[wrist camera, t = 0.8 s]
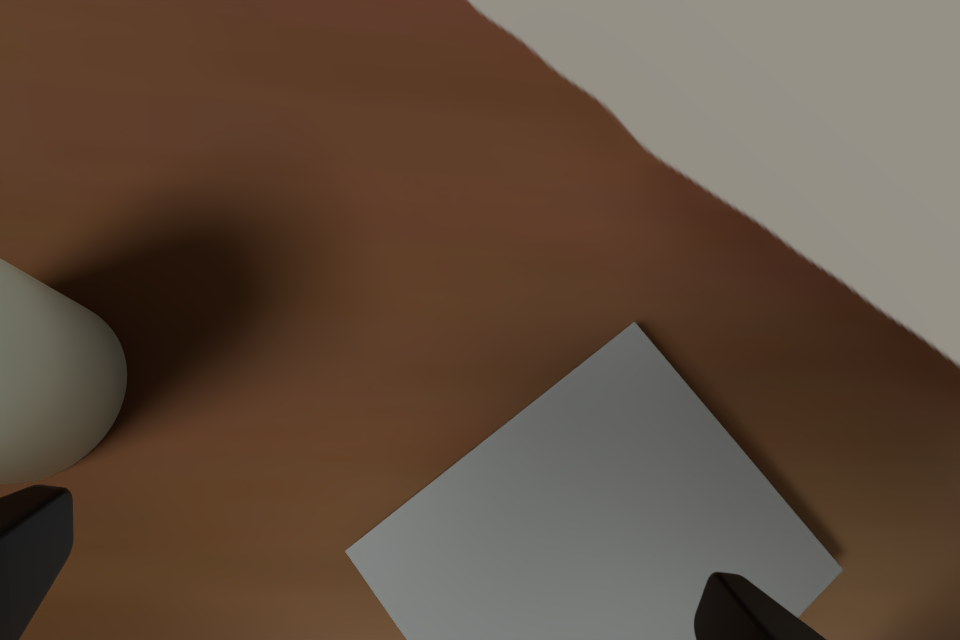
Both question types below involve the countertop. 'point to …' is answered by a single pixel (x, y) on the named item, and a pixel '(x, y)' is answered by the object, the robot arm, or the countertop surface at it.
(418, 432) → the countertop surface
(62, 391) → the pale green rounded cylinder
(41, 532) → the robot arm
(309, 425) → the countertop surface
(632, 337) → the grey flat plate
